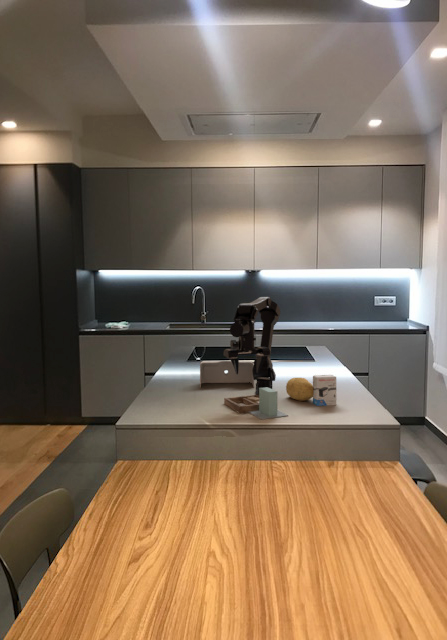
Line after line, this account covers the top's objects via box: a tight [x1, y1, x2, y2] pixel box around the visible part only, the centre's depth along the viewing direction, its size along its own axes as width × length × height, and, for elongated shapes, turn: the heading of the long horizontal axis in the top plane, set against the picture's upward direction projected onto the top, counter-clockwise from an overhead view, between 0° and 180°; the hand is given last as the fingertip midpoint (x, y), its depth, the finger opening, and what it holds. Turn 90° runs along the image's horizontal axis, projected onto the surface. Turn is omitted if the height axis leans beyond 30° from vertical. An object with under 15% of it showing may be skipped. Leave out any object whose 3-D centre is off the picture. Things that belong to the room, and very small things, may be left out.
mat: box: [248, 409, 289, 420], centre depth 192 cm, size 11×11×1 cm
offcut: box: [247, 397, 259, 403], centre depth 207 cm, size 3×5×2 cm, turn 41°
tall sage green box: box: [258, 387, 278, 416], centre depth 191 cm, size 4×8×9 cm, turn 23°
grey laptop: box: [199, 360, 255, 388], centre depth 241 cm, size 25×16×12 cm, turn 91°
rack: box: [223, 394, 259, 414], centre depth 204 cm, size 15×15×2 cm
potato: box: [285, 377, 313, 402], centre depth 212 cm, size 10×14×10 cm
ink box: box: [312, 374, 337, 407], centre depth 205 cm, size 8×5×12 cm, turn 99°
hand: (247, 373), depth 205 cm, fingers open, 9 cm apart
